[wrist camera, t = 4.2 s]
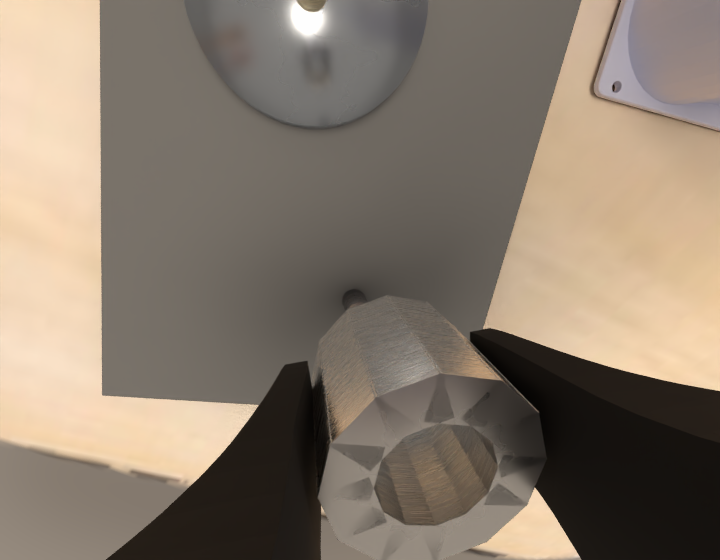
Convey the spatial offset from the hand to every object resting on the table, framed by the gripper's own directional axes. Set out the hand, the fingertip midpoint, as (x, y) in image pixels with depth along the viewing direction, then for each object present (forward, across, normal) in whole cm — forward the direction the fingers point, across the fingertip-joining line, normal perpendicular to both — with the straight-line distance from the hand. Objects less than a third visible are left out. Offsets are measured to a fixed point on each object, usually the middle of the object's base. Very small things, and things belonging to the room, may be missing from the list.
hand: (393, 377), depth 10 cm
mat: (+9, 0, -6) cm, 11 cm away
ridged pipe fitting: (+1, 0, 0) cm, 1 cm away
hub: (+9, 0, -12) cm, 15 cm away
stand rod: (+9, 0, +1) cm, 9 cm away
